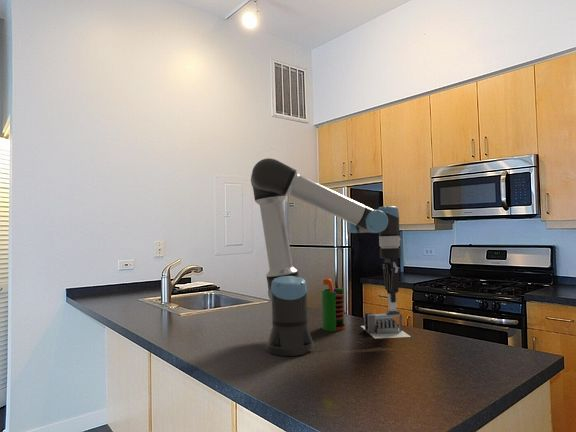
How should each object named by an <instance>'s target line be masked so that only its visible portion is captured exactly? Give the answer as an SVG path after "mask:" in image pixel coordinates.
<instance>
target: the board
mask: <svg viewBox="0 0 576 432" xmlns="http://www.w3.org/2000/svg"><path fill="white" fill-rule="evenodd" d="M360 327H361V328H362V329H363V330H364V331H365V325H360ZM366 333H368V331H366ZM369 335H370V336H371V337H372V338H374V339H392V338H393V339H394V338H395V339H396V338H412V337H411V335H409V334H408V333H406V332H405V331H404V330H402V331H400V330H399V333H392V334H376V333H371V334H369Z"/></svg>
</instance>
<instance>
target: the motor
mask: <svg viewBox="0 0 576 432" xmlns="http://www.w3.org/2000/svg"><path fill="white" fill-rule="evenodd" d="M322 281H323V286H324V285H327V286H328V288H323V289H321V316H322V317H321V321H322V322H321V329H322V331H325V332H326V331H327V332H334V333H336V332H339V331H344V330H346V324H345V302H344V300H345V297H344V296H345V293H344V288H335V287H334V284H333V280H332V279H331V278H324V279H323V280H322Z"/></svg>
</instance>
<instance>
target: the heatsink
mask: <svg viewBox="0 0 576 432" xmlns="http://www.w3.org/2000/svg"><path fill="white" fill-rule="evenodd" d="M375 333H376V334H392V333H399V326H397V320H396V319H394V317H386V318H375Z"/></svg>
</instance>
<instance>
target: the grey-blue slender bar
mask: <svg viewBox="0 0 576 432" xmlns="http://www.w3.org/2000/svg"><path fill="white" fill-rule="evenodd" d="M400 314H401V313H400V311H399V310H397V311H388V310H386V313H376V314H375V313H374V314H372V315H375V318H386V317H387V318H388V317H391V318H396V317H397V318H399V316H400ZM368 315H370V314H367V315H366V316H367V318H368Z"/></svg>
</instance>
